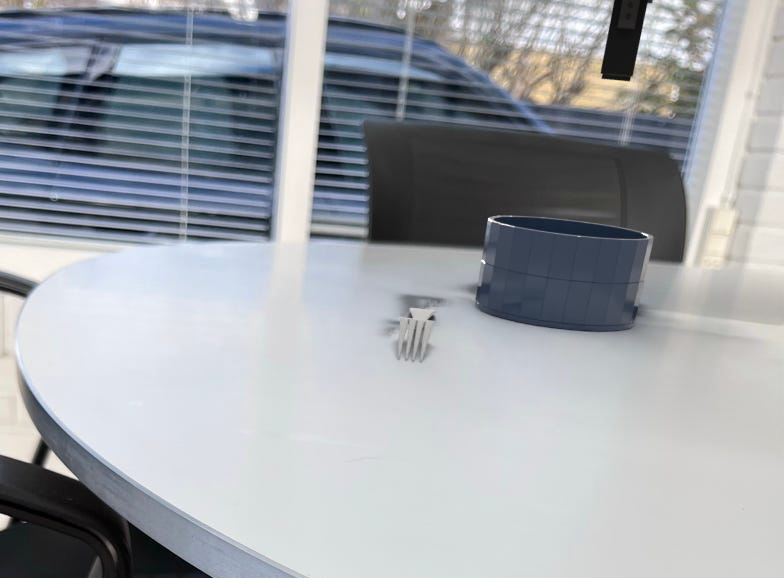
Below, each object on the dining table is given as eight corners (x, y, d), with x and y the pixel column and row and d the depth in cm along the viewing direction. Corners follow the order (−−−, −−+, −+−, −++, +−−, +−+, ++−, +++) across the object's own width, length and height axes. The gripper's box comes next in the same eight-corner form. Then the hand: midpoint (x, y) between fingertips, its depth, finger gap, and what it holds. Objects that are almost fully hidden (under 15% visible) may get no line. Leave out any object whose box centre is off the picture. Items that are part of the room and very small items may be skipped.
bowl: (632, 311, 109) (650, 229, 105) (635, 338, 96) (656, 245, 92) (483, 292, 112) (496, 211, 108) (466, 316, 98) (480, 224, 95)
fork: (434, 340, 99) (438, 309, 98) (428, 362, 79) (433, 324, 78) (404, 336, 99) (408, 306, 98) (391, 358, 80) (396, 320, 79)
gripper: (737, -262, 75) (664, 76, 85) (708, -177, 96) (653, 85, 106) (629, -266, 76) (569, 68, 86) (624, -181, 98) (577, 78, 108)
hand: (615, 78), depth 96 cm, fingers open, 13 cm apart
